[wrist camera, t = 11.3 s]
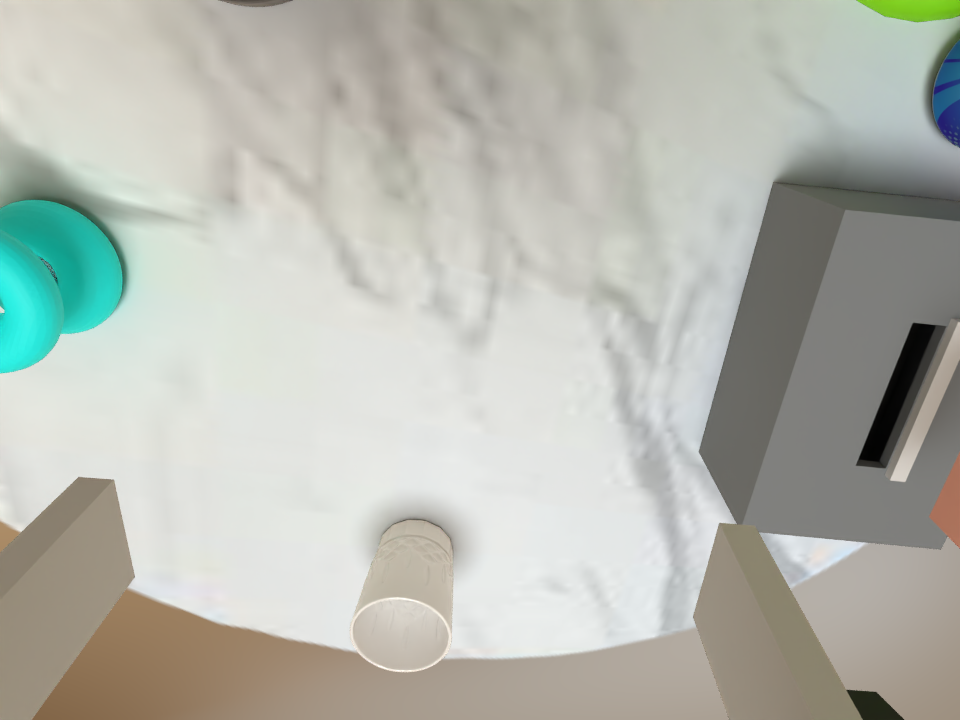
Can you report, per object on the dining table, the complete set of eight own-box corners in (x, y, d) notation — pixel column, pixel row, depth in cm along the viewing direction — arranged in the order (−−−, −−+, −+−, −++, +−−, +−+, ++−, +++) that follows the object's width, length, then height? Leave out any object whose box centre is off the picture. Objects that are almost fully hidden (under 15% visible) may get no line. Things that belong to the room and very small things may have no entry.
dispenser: (773, 182, 44) (850, 211, 34) (973, 202, 44) (1106, 237, 34) (698, 452, 53) (743, 536, 43) (865, 468, 53) (946, 555, 43)
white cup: (474, 535, 57) (469, 623, 48) (435, 593, 60) (423, 685, 51) (396, 499, 56) (375, 582, 46) (359, 560, 59) (333, 649, 49)
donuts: (-112, 193, 36) (61, 279, 38) (13, 170, 45) (147, 240, 47) (-136, 334, 40) (23, 406, 41) (-17, 286, 49) (109, 346, 50)
